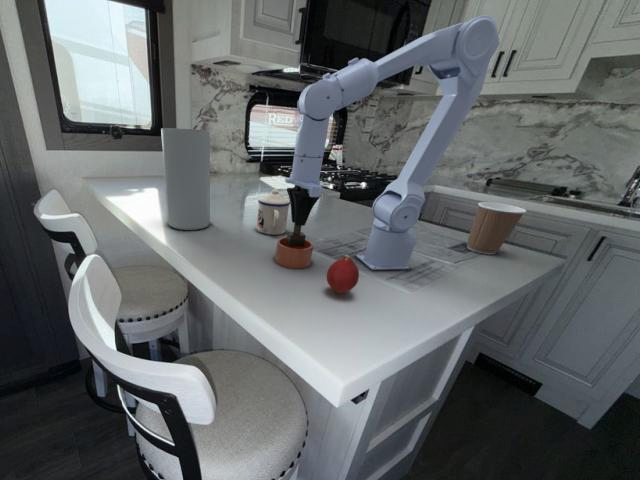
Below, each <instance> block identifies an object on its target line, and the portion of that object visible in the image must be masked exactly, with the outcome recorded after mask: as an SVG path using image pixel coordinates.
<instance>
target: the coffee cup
mask: <svg viewBox="0 0 640 480" xmlns="http://www.w3.org/2000/svg"><path fill="white" fill-rule="evenodd" d="M477 205H478V207H477V210H476V213H475V216H474V220H473V222H472V227H471V230H470V233H469V236H468V238H467V242H466V243H467V244H466V248H467V249H468V250H470V251H472V252H475V253H478V254H483V255H495V254H497V252H498V251H499V250H500V249H501V247H502V246H503V244H504V243H505V242H506V240H507V238H508V237H509V236H510V234H511V233H512V231H513V230H514V229H515V227H516V226H517V224H518V223H519V222H520V220H521V219H522V217H523V214H526V213H527V210H526V209H525V208H522V207H520V206H515V205H510V204H507V203H501V202H492V201H491V202H490V201H480V202H478V203H477Z"/></svg>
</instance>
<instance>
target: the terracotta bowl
mask: <svg viewBox="0 0 640 480" xmlns="http://www.w3.org/2000/svg"><path fill="white" fill-rule="evenodd" d="M286 240H287V236H284V237H280V238H278V239H277V241H276V247H275V248H276V249H275V256H274V257H275V258H274V260H275V262H276V263H277V264H278V265H280V266H283V267H285V268H290V269H305V268H307V267H309V266H310V265H311V261H312V256H313V250H314V243H313V242H312V241H311V240H309V239H306V238H305V244H304V246H288V245H287V243H286Z"/></svg>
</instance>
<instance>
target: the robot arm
mask: <svg viewBox="0 0 640 480" xmlns="http://www.w3.org/2000/svg"><path fill="white" fill-rule="evenodd" d="M500 44H501V43H500V38H499V31H498V25H497V23H496V21H495V20H494V19H493V17H492V16H489V15H485V14H483V15H478V16H476V17H474V18H472V19H471V20H468V21H466V22H460V23H456V24H454V25H451V26H448V27H444V28H441V29H438V30H435V31H433V32H430V33H427V34H425V35H423V36H421V37H418V38H417V39H415V40H412V41H411V42H409V43H407V44H405V45H403V46H402V47H400V48H398V49H396V50H394V51H392V52H391V53H389V54H387V55H385V56H383V57H381V58H379V59H378V60H376V61H371V60H369V59H368V58H365V57H364V58H361V59H359V57H355V58H353V59H351V60H348V62H347V64H348V65H347V66H345V67H344V68H342V69H340V70H338V71H336V72H334V73H332V74H331V73H330V72H327V73H325V74H323V75H322V79H319V80H318V81H317V82H314V83H311V84H309V85H307V86H306V87H305V88H304V89H303V91H302V92H301V93H300V96H299V98H298V100H297V101H296V102H297V103H296V105H297V111H298V114H299V119H298V126H297V127H298V128H297V129H296V138H295V145H294V153H293V161H292V169H291V173H290V174H289V177H286V178H284V179H285V180H284V183H286V184H290V185H294V186H293V187H287V188H286V193H287V195H288V199H289V200H290V204H289V205H290V215H291V217H290V218H291V222H292V224H293V223H294V224H295V225H296V226H301V227H302V226H306V223H307V221H308V219H309V216H310V214H311V212H312V211H313V208H314V206H315V204H316V203H317V202H318V201H319V200H320V198H321V197H322V192H323V186H322V185H321V180H320V177H321V171H322V165H323V160H324V154H325V149H326V144H327V137H328V131H329V130H328V128H329V124H330V118H331V116H333V114H334V113H335V111H339V110H341V109H343V108H345V107H347V106H349V105H352V104H353V103H356V102H358V101H360V100H362V99H364V98H365V97H368V96H370V95H372V93H373V92H374V90H375V88H376V86H377V84H378V83H379V82H381V81H383V80H386V79H387V78H390V77H392V76H394V75H397V74H399V73H401V72H404V71H405V70H408V69H410V68H412V67H415V66H420V67H427V68H428V69H429V71H430V72H431V74H432V75H433V77H434V78H435V80H436V81H437V83H438V84H439V85H440V88H441V92H442V98H441V100H440V101H439V103H438V105H437V107H436V109H435V110H434V111H433V114H432V116H431V118H430V119H429V121H428V122H427V125H426V127H425V128H424V130H423V131H422V134H421V136H420V137H419V139H418V141H417V143H416V145H415V146H414V148H413V150H412V152H411V154H410V155H409V157H408V159H407V161H406V163H405V164H404V166H403V168H402V170H401V172H400V173H399V175H398V177H397V178H396V179H394V180H393V181H391V182H390V183H388V184H387V186H386V187H385V189H384V191H383V192H382V193H381V194H380V195H378V196H377V197H376V198H375V199H374V201H373V203H372V206H371V212H372V215H373V217H374V218H373V223H372V225H371V226H372V227H371V229H370V234H369V238H368V241H367V245H366V248H365V251H364V254H356V258H357V259H359V260H360V261H361V262H362V263H363V264H364V265H366V267H368V268H369V269H370V270H372V271H383V270H385V271H386V270H387V271H389V270H391V271H392V270H409V268H410V266H408V265H409V263H410V262H409V261H410V259H411V257H412V254H413V251H414V248H415V246H416V242H417V235H416V234H417V233H416V232H415V230H414V229H413V227H414V226H415V225H416V223H417V222H418V221H419V219H420V216H421V209H422V207H423V205H424V203H425V202H426V196H425V192H424V191H425V190H424V188H425V186H426V184H427V182H428V181H429V179H430V178H431V176H432V174H433V173H434V170H435V169H436V167H437V166H438V164H439V162H440V161H441V159H442V157H443V156H444V154H445V153H446V151H447V149H448V148H449V146H450V144H451V143H452V141H453V139H454V138H455V137H456V134H457V133H458V131H459V130H460V128H461V127H462V124H463V123H464V121H465V119H466V118H467V117H468V115H469V113H470V111H471V110H472V108H473V107H474V105H475V103H476V101H477V100H478V99H479V97H480V95H481V92H482V91H483V87H484V84H485V80H486V76H487V72H488V68H489V64H490V62H491V60H492V58H493V56H494V54H495V53H496V52H497V49H498V48H499V46H500Z"/></svg>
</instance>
